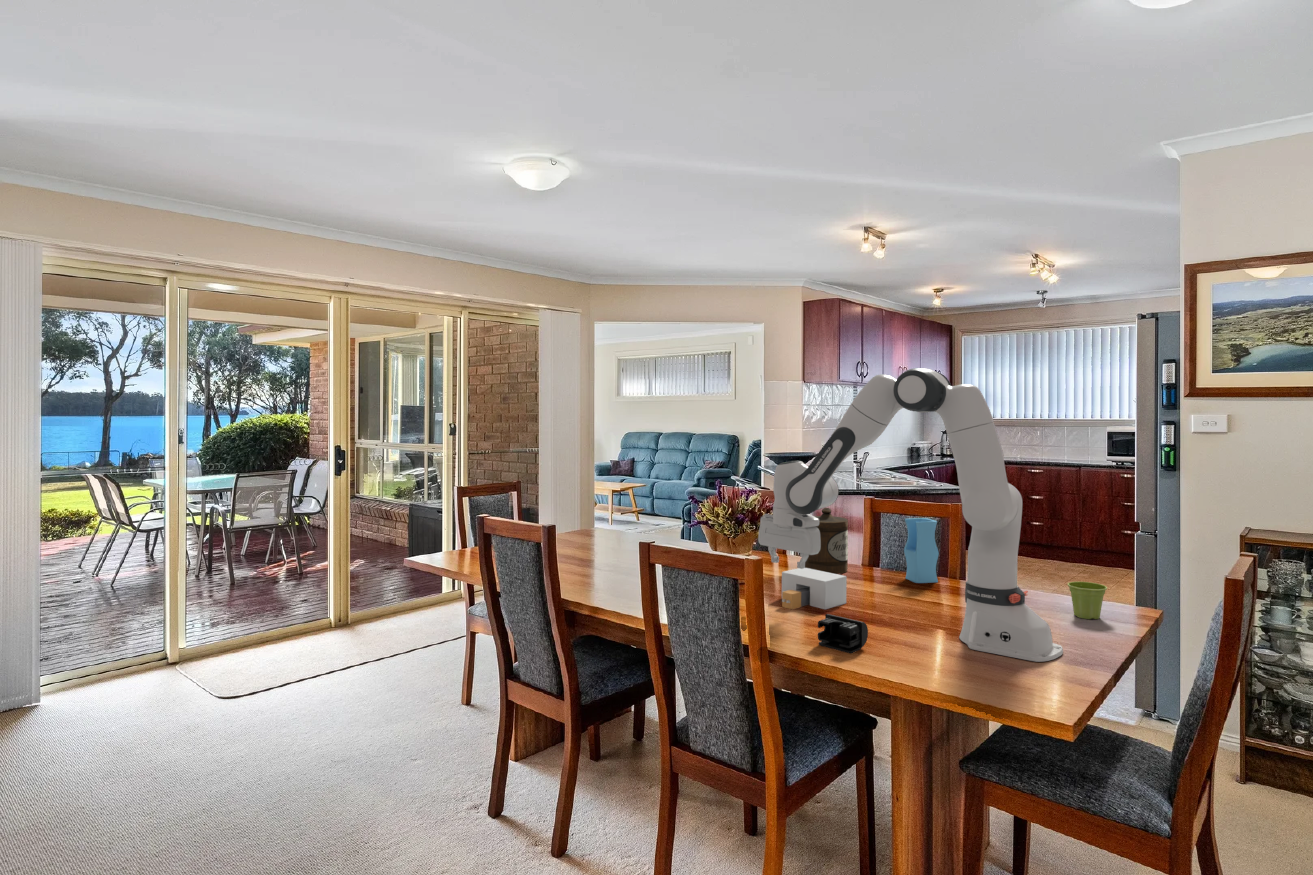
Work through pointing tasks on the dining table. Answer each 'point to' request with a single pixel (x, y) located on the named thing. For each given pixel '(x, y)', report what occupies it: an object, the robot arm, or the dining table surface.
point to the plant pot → (1087, 599)
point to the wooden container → (831, 545)
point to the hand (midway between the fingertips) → (787, 565)
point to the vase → (921, 550)
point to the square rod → (796, 598)
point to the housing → (817, 586)
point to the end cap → (842, 633)
